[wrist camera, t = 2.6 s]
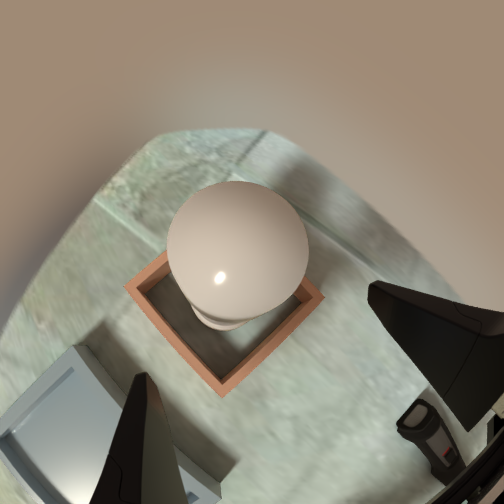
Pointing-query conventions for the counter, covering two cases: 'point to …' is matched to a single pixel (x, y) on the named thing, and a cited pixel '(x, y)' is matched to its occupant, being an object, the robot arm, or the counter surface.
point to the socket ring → (137, 291)
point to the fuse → (236, 252)
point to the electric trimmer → (432, 440)
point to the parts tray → (75, 434)
